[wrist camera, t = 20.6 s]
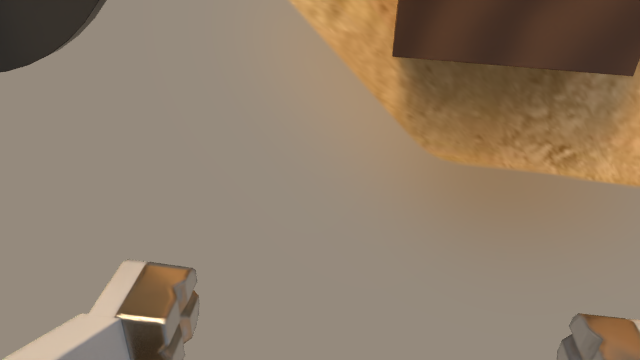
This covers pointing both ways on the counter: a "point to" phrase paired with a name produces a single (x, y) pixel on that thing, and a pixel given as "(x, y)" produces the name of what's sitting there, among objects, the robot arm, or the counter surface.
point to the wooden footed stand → (523, 33)
